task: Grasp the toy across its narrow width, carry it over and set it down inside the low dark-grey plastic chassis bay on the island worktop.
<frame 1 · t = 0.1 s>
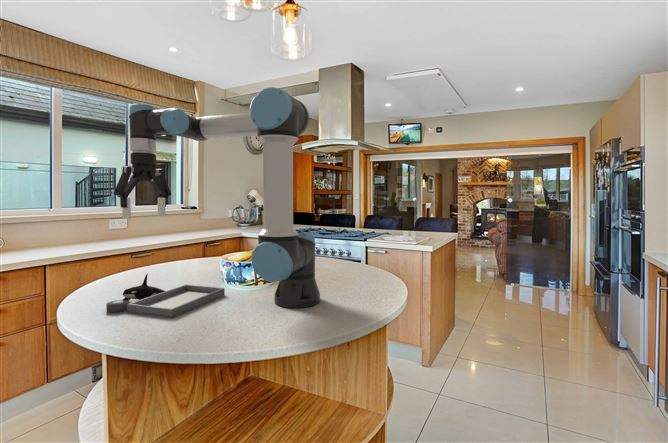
hand: (145, 217, 121), 28 cm above the worktop, fingers open, 13 cm apart
toy: (146, 300, 123), on the worktop
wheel: (118, 310, 110), on the worktop
bay: (179, 303, 118), on the worktop
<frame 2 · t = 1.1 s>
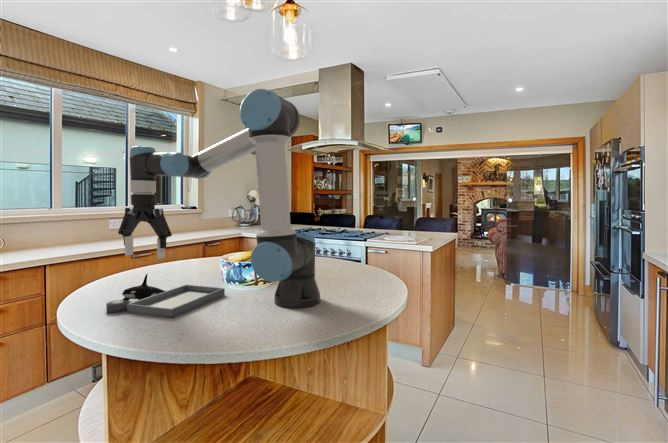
hand: (145, 256, 122), 14 cm above the worktop, fingers open, 13 cm apart
nothing on the worktop moved.
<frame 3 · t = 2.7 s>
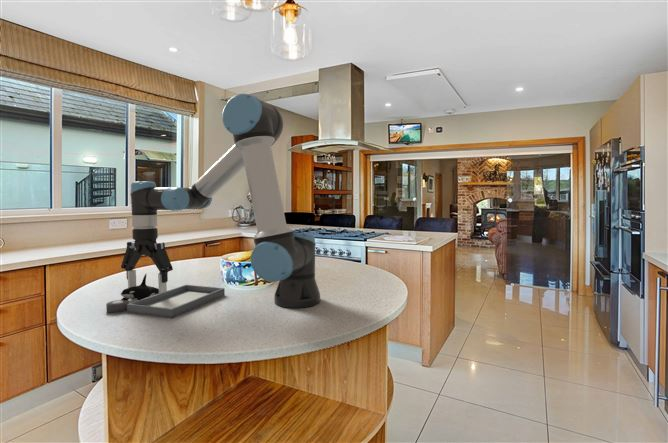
hand: (147, 290, 123), 3 cm above the worktop, fingers open, 12 cm apart
nothing on the worktop moved.
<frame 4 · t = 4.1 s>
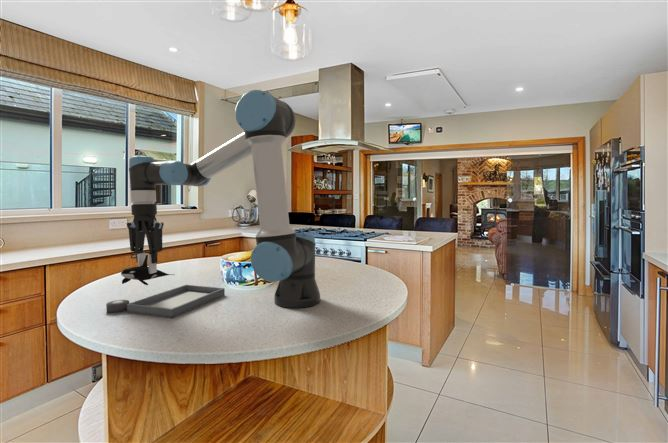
hand: (147, 272, 122), 9 cm above the worktop, fingers closed on toy, 4 cm apart
toy: (147, 281, 122), point 6 cm above the worktop, touching gripper
everything else where it was.
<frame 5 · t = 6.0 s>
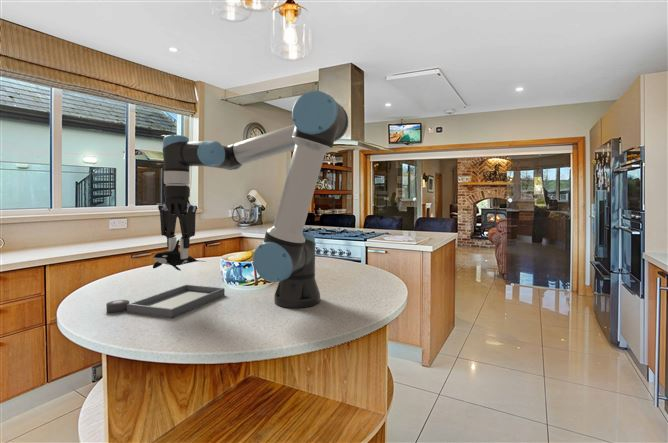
hand: (178, 257, 117), 15 cm above the worktop, fingers closed on toy, 4 cm apart
toy: (178, 267, 117), point 12 cm above the worktop, touching gripper
everything else where it was.
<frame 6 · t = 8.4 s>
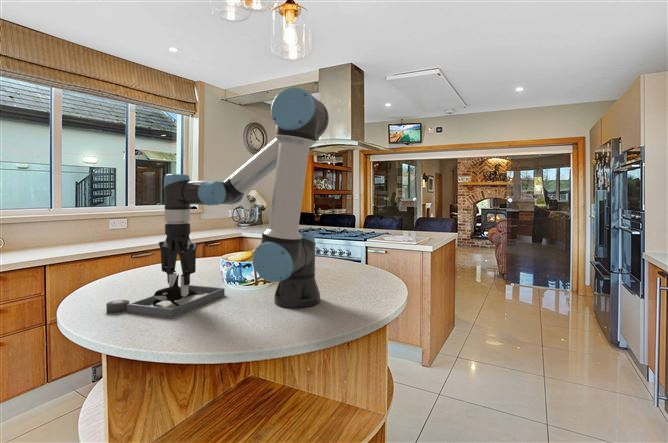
hand: (178, 293, 118), 3 cm above the worktop, fingers closed on toy, 4 cm apart
toy: (178, 301, 117), resting on bay, touching gripper
everything else where it was.
when the fingers open (3 cm above the worktop, at t = 8.7 s): toy stays where it is, resting on bay.
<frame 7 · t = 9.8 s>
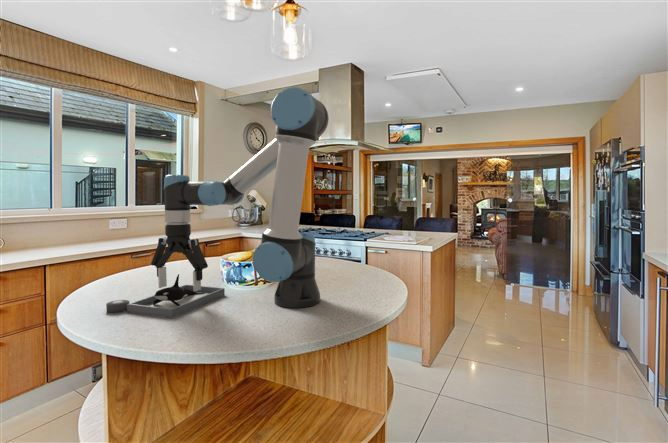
hand: (179, 288, 117), 5 cm above the worktop, fingers open, 13 cm apart
toy: (178, 301, 117), resting on bay
everything else where it was.
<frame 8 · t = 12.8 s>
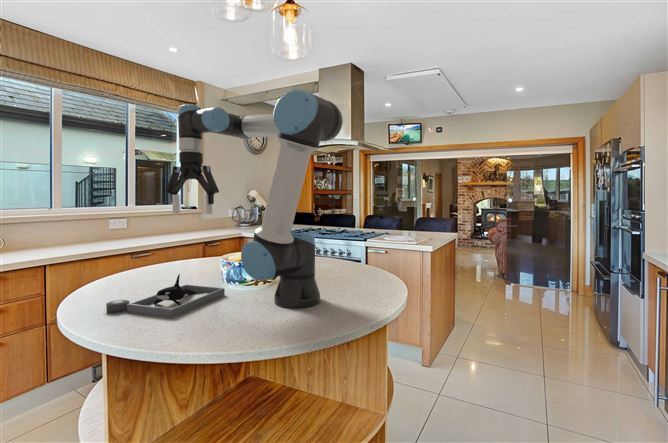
hand: (192, 213, 126), 29 cm above the worktop, fingers open, 13 cm apart
nothing on the worktop moved.
at the end: toy inside the target area on the bay (0.5 cm from its centre), point 0.5 cm above the bay's base; toy tilted 0°; the gripper is holding nothing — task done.
